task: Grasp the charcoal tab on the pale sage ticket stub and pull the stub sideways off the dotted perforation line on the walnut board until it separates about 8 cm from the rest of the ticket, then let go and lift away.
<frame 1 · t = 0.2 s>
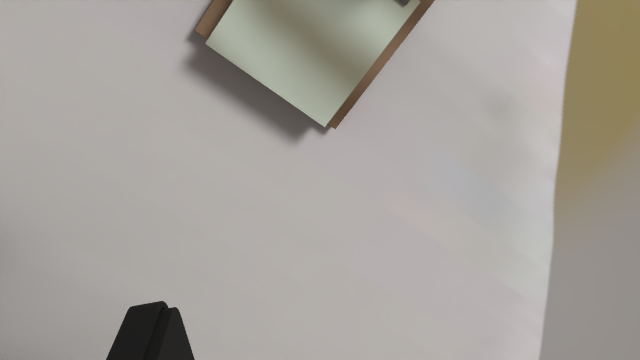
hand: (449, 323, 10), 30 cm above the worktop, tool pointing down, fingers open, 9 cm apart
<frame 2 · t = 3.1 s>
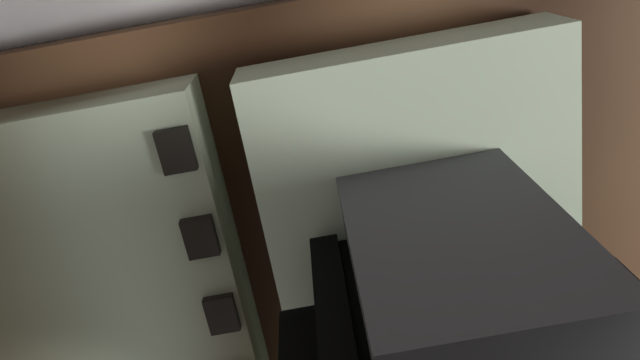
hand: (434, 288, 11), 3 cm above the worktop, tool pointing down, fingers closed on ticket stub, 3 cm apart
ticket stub: (454, 334, 10), point 4 cm above the worktop, slide at 0.0 cm, touching gripper
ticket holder: (265, 245, 14), on the worktop
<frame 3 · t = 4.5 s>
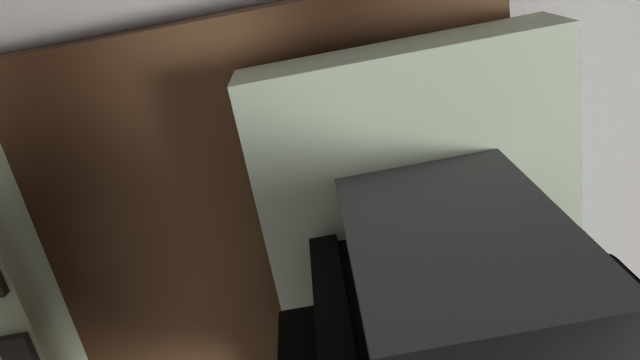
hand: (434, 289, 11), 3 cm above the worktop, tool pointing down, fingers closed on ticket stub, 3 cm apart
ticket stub: (454, 335, 10), point 4 cm above the worktop, slide at 4.2 cm, touching gripper
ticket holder: (96, 278, 14), on the worktop
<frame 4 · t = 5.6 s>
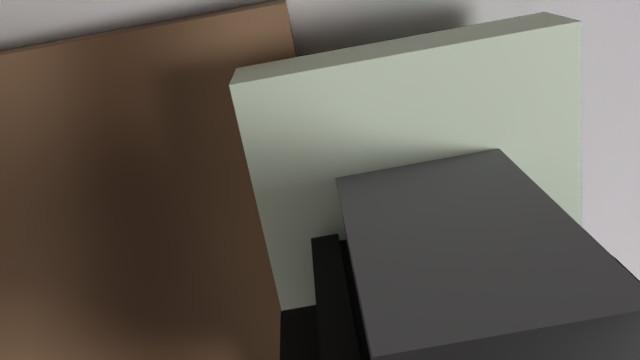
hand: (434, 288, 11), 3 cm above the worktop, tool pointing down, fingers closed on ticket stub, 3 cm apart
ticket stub: (454, 335, 10), point 4 cm above the worktop, slide at 8.4 cm, touching gripper
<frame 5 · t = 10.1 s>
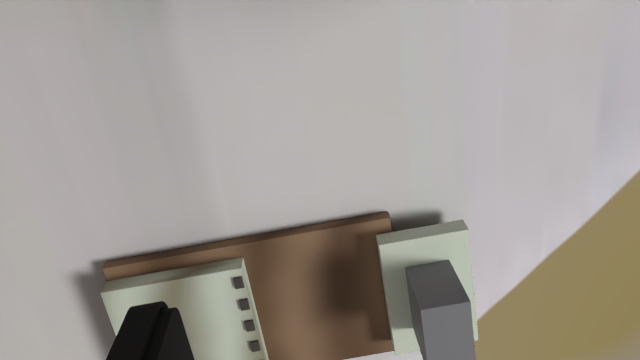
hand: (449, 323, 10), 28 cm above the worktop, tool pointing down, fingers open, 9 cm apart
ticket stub: (436, 309, 39), point 4 cm above the worktop, slide at 8.4 cm
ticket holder: (262, 302, 43), on the worktop
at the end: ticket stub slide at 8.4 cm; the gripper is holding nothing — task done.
